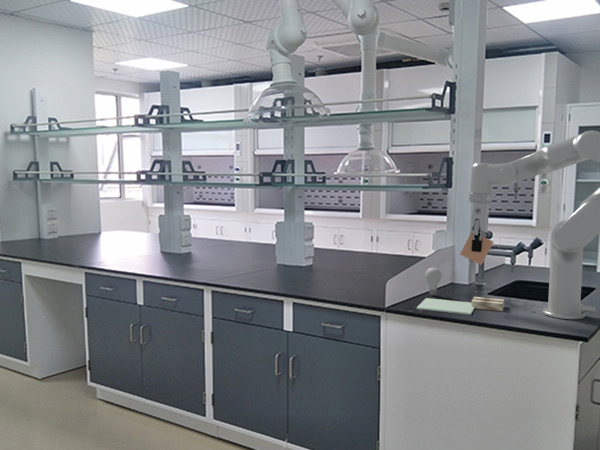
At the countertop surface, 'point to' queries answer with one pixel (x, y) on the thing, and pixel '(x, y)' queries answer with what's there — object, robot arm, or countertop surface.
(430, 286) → the lightbulb
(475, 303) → the stand
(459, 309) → the mat
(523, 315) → the countertop surface
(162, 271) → the countertop surface
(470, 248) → the tile
